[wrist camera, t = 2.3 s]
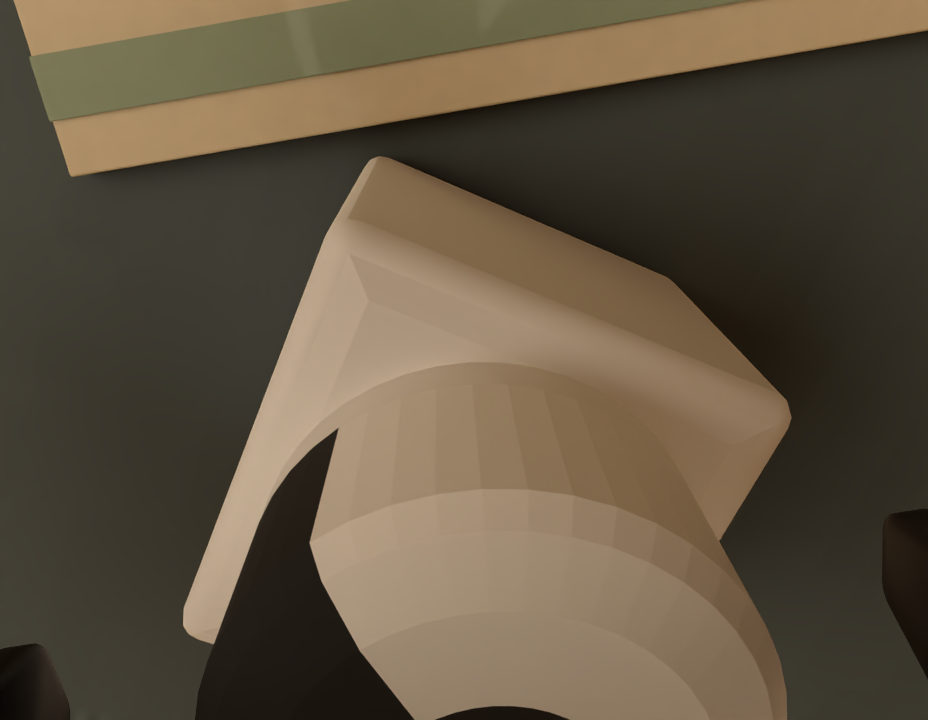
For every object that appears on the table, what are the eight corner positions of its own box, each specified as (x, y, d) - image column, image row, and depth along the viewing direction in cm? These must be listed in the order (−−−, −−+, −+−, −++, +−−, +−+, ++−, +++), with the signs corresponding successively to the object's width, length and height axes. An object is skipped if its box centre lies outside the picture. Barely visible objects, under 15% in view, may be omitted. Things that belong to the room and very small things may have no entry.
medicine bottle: (539, 540, 21) (655, 1117, 10) (260, 438, 20) (28, 961, 9) (677, 279, 19) (1033, 640, 8) (372, 147, 18) (255, 342, 6)
